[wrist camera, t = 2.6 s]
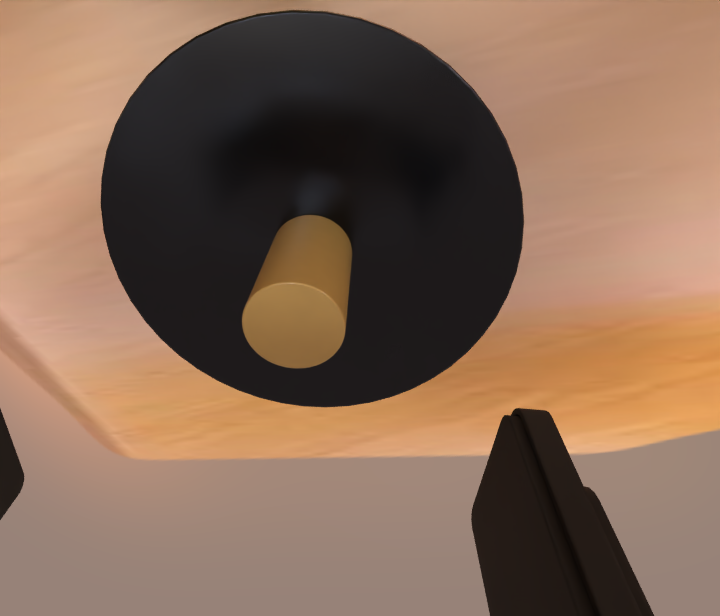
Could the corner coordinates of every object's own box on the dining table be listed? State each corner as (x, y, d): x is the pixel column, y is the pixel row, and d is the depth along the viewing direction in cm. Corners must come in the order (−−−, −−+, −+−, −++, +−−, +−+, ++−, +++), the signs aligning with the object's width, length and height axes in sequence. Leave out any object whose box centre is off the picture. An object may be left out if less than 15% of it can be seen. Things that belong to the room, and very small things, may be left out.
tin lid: (80, -18, 14) (-84, -32, 9) (570, 38, 14) (675, 56, 9) (144, 372, 21) (72, 485, 16) (467, 402, 21) (496, 521, 16)
